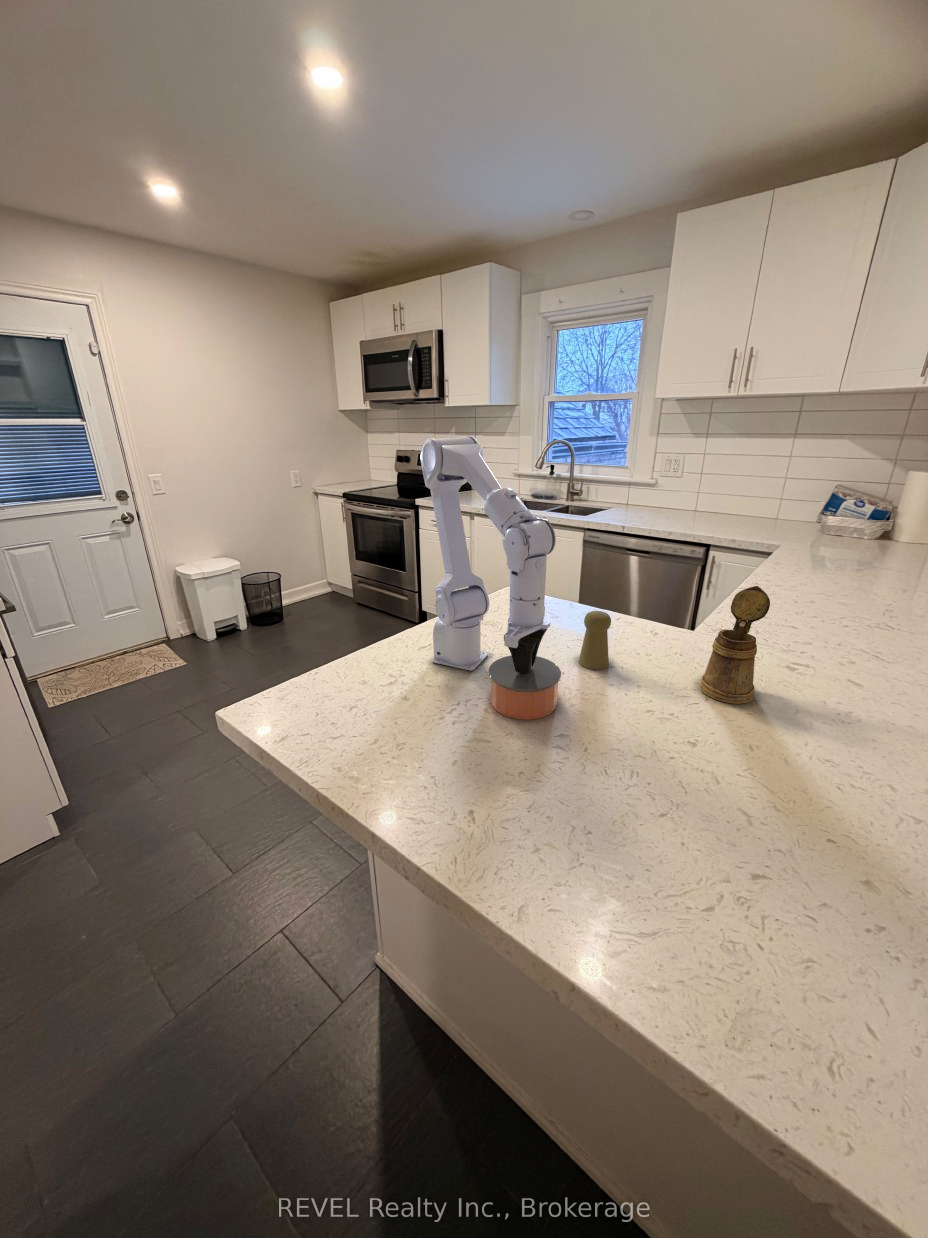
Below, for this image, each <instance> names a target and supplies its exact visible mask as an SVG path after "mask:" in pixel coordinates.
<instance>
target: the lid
mask: <svg viewBox="0 0 928 1238" xmlns="http://www.w3.org/2000/svg"><path fill="white" fill-rule="evenodd" d="M488 676H489V679H490V681H491V680H492V681H493V682H494V683H496V684H497V685H499V686H501V687H503V688H506V689H509V690H513V691H520V692H536V691H542V690H546V689H549V688H551V687H553V686H555V685H556V684H557V683H558V684H559V682H560V680H561V678H562V671H561V669H560V667H559V666H558V665H557V663H556V662H555V663H554V661H551V660H550V659H547V658H545V657H541V656H538V655H536V659H535V662H534V665H533V666H532V657H531V663H530V668H529V671H528V673H527V674H524V673H519V672H516V671H515V667H514V663H513V659H512V655H507V656H503V657H500V658H498V659H496V660H494V661H493V662H492V663H491V664H490V665H489V666H488Z"/></svg>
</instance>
